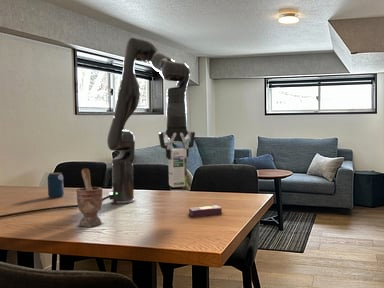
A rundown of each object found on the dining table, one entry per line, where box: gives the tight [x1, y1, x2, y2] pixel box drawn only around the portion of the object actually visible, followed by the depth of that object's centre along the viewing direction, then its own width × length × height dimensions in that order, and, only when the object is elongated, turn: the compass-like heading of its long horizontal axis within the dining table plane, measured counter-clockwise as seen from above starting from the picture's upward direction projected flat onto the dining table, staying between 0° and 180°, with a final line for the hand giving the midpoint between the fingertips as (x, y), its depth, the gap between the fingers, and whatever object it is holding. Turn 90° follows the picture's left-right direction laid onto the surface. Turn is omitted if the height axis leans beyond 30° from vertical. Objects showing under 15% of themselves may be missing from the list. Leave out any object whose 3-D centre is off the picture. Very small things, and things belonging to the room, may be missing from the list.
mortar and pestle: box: [76, 167, 103, 228], centre depth 140 cm, size 12×9×20 cm
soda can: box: [47, 171, 65, 199], centre depth 192 cm, size 7×7×12 cm
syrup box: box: [167, 147, 188, 188], centre depth 149 cm, size 6×6×14 cm
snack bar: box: [188, 205, 222, 218], centre depth 154 cm, size 12×5×3 cm, turn 115°
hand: (177, 158), depth 149 cm, fingers closed on syrup box, 5 cm apart
